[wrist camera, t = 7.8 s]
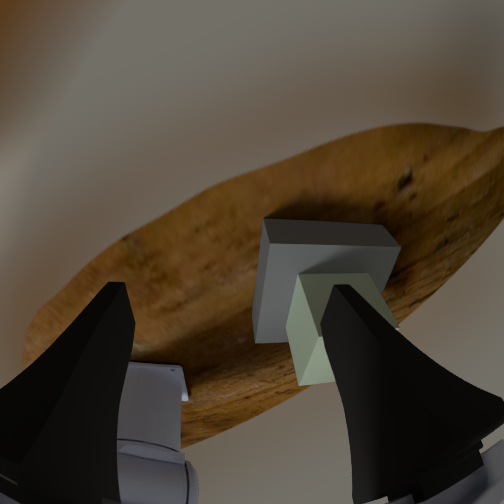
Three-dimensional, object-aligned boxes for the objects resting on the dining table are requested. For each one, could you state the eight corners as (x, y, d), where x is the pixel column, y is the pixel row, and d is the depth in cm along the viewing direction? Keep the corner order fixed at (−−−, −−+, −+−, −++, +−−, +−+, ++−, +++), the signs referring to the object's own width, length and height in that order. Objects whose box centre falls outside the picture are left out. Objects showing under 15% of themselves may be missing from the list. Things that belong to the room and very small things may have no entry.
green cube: (285, 327, 20) (298, 385, 16) (297, 273, 18) (318, 336, 13) (347, 323, 21) (368, 375, 17) (367, 272, 18) (399, 327, 14)
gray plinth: (251, 315, 24) (255, 343, 21) (263, 218, 18) (269, 243, 16) (349, 311, 25) (360, 336, 22) (382, 224, 20) (401, 247, 17)
